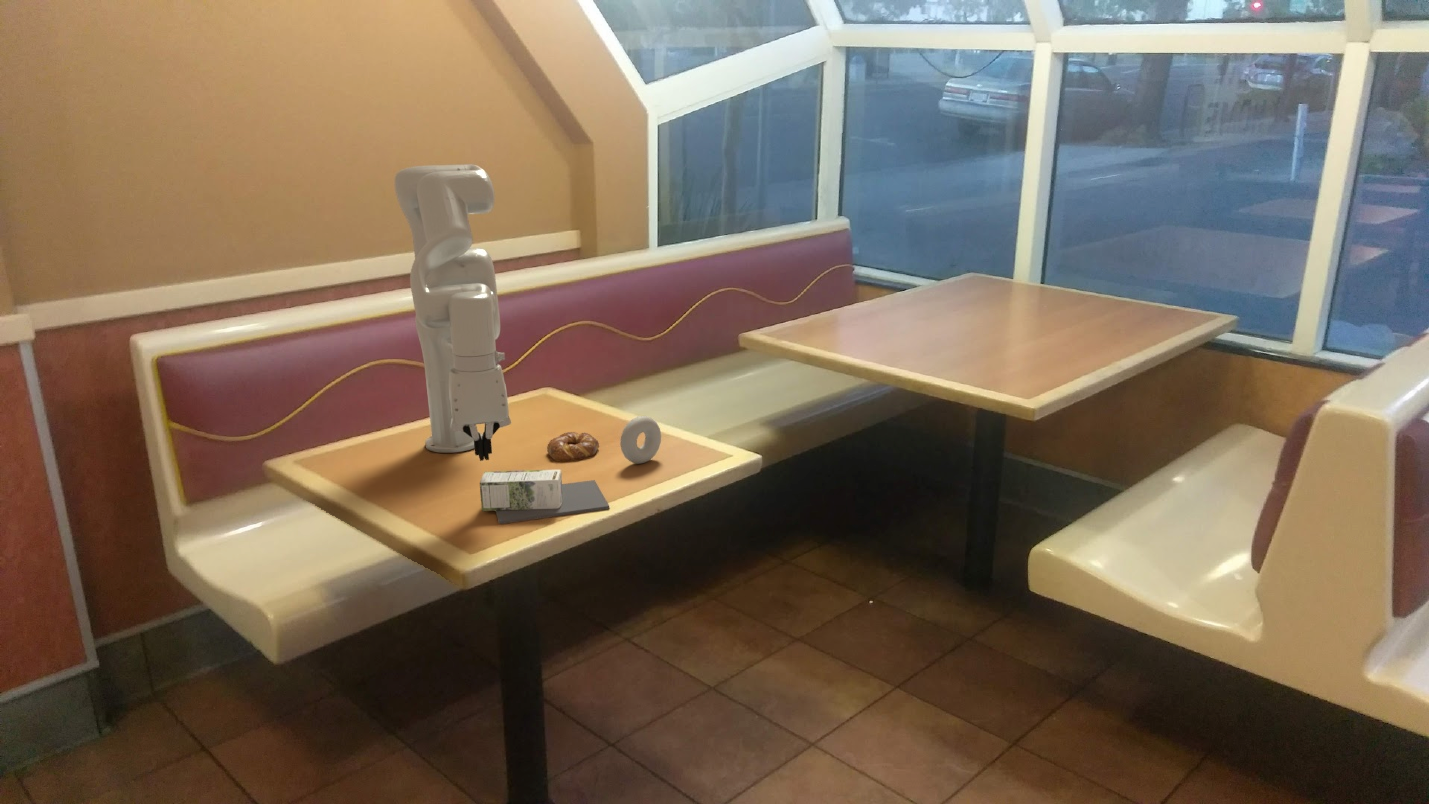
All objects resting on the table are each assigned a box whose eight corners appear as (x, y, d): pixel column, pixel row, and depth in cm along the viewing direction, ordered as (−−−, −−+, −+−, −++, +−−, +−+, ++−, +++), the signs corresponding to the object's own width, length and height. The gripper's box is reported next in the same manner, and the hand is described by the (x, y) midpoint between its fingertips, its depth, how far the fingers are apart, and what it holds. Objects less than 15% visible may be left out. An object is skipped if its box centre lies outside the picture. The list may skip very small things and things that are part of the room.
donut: (654, 454, 213) (652, 409, 211) (665, 458, 211) (663, 412, 208) (617, 466, 207) (615, 420, 204) (628, 471, 204) (626, 424, 202)
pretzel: (575, 467, 208) (574, 450, 207) (535, 458, 214) (533, 442, 213) (610, 449, 218) (609, 433, 217) (570, 441, 224) (569, 425, 222)
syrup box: (486, 500, 189) (564, 496, 190) (481, 512, 184) (561, 508, 184) (483, 471, 188) (562, 468, 189) (478, 482, 182) (559, 479, 183)
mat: (491, 496, 193) (491, 493, 192) (594, 482, 198) (594, 480, 198) (499, 524, 180) (499, 520, 180) (609, 508, 186) (609, 505, 185)
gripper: (514, 352, 185) (522, 446, 191) (431, 360, 181) (440, 456, 187) (520, 362, 179) (527, 459, 184) (433, 371, 174) (443, 470, 180)
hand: (483, 457), depth 185 cm, fingers closed
